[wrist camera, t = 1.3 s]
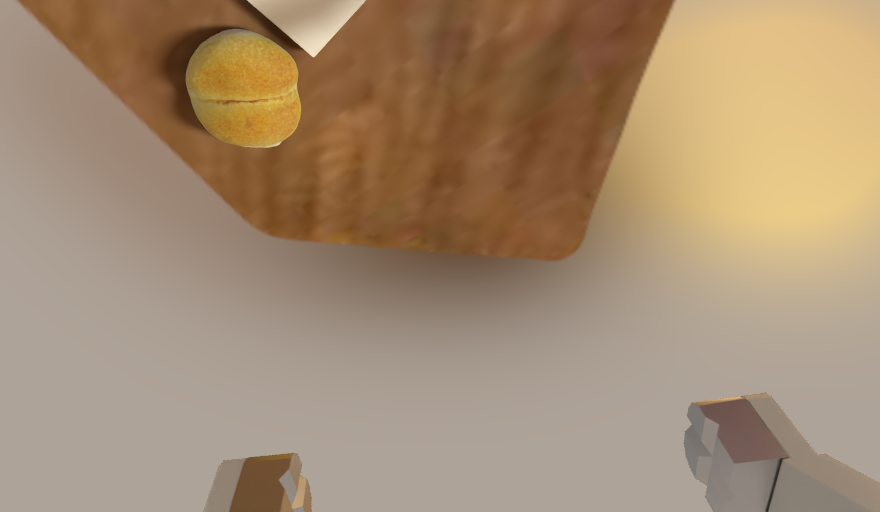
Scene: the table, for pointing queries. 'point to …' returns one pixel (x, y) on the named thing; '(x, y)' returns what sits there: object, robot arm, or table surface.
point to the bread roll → (244, 89)
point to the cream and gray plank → (308, 19)
